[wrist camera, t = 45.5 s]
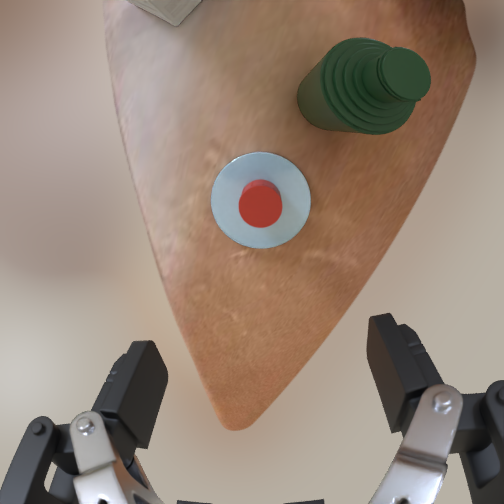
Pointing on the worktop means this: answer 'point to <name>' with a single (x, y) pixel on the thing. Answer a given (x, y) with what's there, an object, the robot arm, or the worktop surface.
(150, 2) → the white packaging box
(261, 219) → the cap
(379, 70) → the sauce bottle
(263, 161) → the saucer
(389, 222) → the worktop surface
